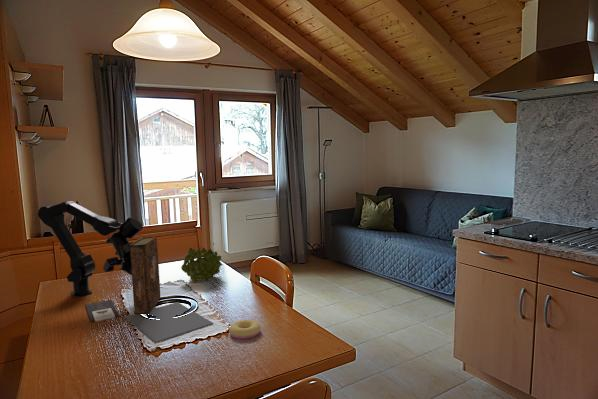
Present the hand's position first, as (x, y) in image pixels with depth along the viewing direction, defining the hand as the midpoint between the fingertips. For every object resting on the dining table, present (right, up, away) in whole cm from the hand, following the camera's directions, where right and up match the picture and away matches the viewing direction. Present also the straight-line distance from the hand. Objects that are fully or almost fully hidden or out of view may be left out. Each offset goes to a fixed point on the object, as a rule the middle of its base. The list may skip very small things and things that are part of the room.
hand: (138, 278), depth 157 cm
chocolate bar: (-11, -11, -7) cm, 17 cm away
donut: (+44, -13, -25) cm, 52 cm away
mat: (+16, -12, -16) cm, 25 cm away
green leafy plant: (+18, -6, +28) cm, 34 cm away
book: (+5, -10, -3) cm, 12 cm away
